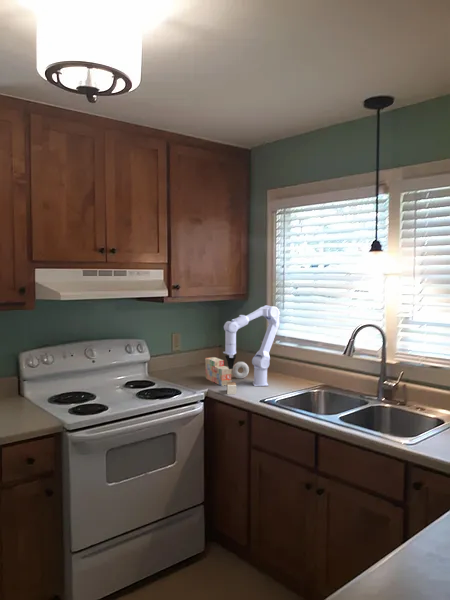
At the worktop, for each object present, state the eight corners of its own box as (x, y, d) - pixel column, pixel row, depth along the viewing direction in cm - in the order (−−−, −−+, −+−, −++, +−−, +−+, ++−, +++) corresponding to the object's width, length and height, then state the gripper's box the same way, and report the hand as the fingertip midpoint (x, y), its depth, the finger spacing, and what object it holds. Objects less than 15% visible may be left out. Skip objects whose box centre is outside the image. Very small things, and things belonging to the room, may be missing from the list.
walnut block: (226, 382, 269) (227, 385, 262) (235, 381, 270) (236, 385, 262) (226, 390, 270) (227, 394, 262) (235, 390, 270) (236, 394, 262)
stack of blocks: (231, 385, 282) (231, 363, 281) (221, 386, 279) (221, 364, 278) (214, 377, 301) (214, 356, 300) (205, 378, 298) (205, 357, 297)
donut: (232, 379, 295) (232, 362, 294) (231, 378, 298) (231, 361, 297) (249, 378, 297) (249, 361, 296) (248, 377, 300) (248, 360, 299)
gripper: (222, 341, 280) (222, 366, 281) (223, 345, 266) (223, 371, 267) (235, 341, 281) (235, 366, 282) (237, 345, 266) (237, 371, 267)
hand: (230, 368), depth 274 cm, fingers closed
